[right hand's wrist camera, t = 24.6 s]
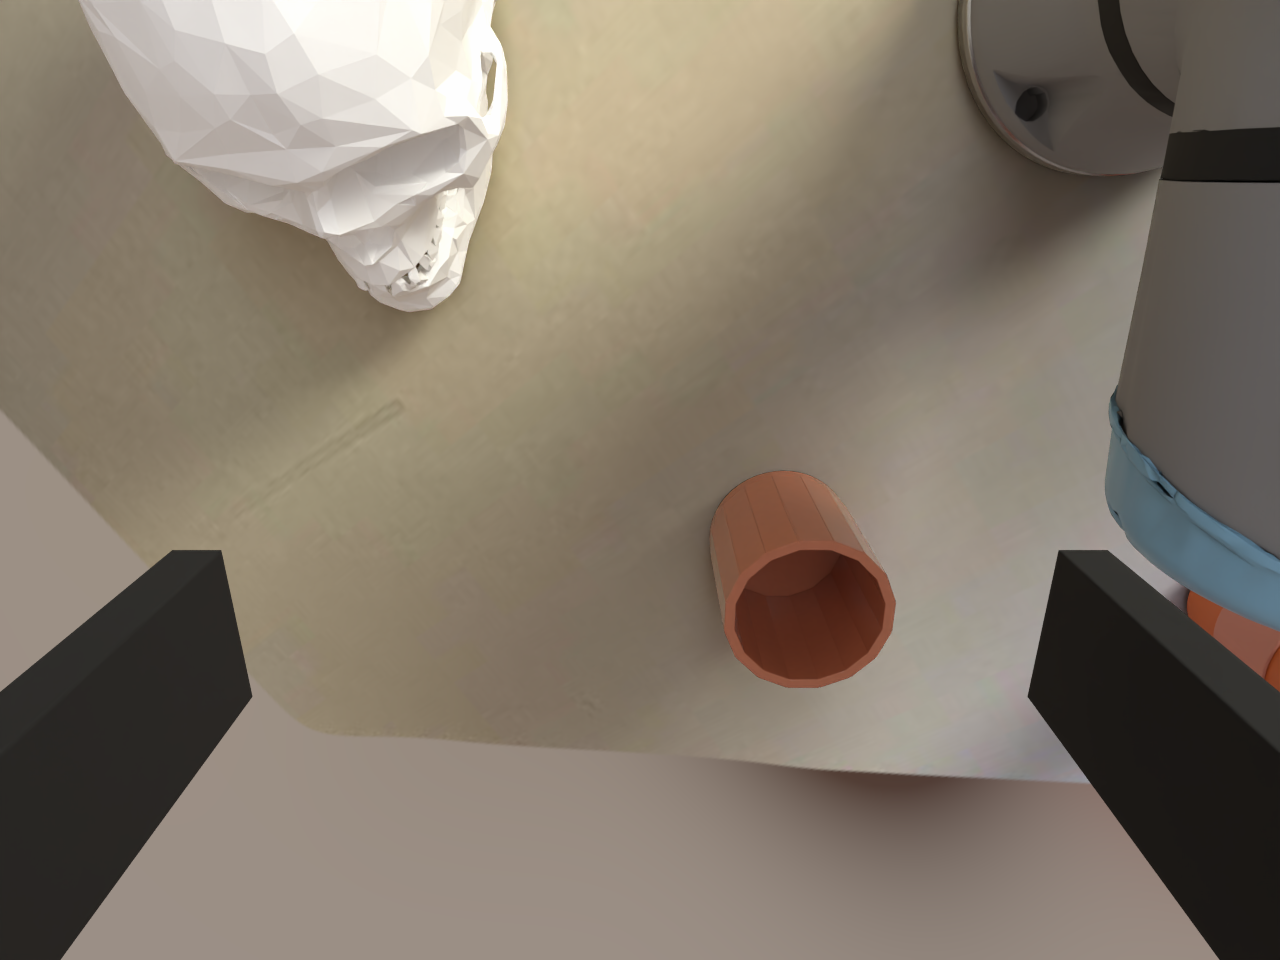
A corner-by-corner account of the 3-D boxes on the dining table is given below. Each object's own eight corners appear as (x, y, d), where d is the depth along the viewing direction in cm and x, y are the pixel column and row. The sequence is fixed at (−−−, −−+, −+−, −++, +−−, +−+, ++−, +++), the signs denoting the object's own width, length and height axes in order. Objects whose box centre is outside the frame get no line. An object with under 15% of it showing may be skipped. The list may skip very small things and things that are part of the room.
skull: (318, 328, 42) (156, 415, 27) (151, -186, 34) (-210, -466, 19) (570, 281, 41) (547, 343, 26) (460, -251, 33) (339, -590, 18)
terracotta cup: (711, 470, 45) (727, 540, 36) (855, 470, 45) (904, 540, 36) (707, 596, 48) (721, 688, 39) (841, 596, 48) (884, 688, 39)
